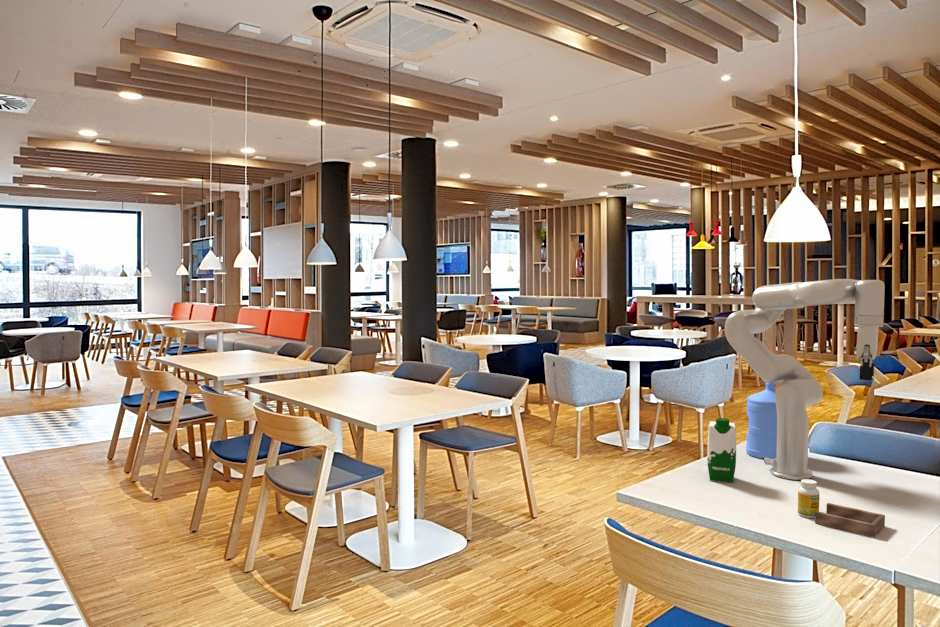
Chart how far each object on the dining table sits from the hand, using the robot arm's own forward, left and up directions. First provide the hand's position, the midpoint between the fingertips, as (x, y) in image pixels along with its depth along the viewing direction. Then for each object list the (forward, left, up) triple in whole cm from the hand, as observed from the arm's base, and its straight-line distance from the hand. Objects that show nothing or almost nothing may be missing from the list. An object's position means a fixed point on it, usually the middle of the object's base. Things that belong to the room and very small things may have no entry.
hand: (866, 377), depth 210 cm
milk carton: (-37, -16, -36) cm, 54 cm away
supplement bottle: (-5, -32, -36) cm, 48 cm away
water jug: (-37, +24, -36) cm, 57 cm away
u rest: (+5, -32, -35) cm, 48 cm away
